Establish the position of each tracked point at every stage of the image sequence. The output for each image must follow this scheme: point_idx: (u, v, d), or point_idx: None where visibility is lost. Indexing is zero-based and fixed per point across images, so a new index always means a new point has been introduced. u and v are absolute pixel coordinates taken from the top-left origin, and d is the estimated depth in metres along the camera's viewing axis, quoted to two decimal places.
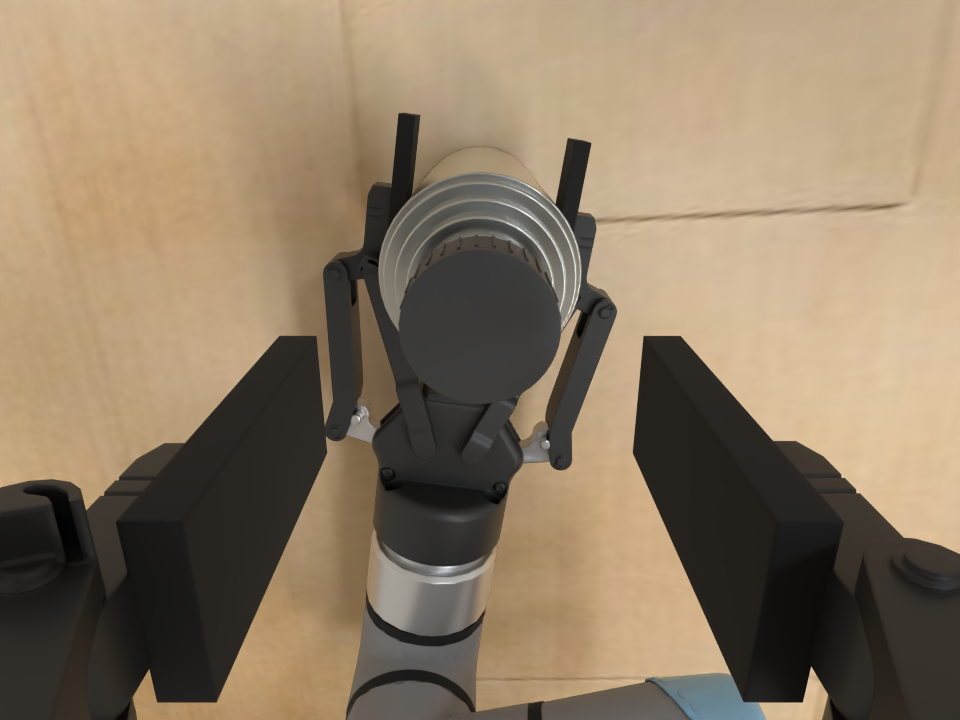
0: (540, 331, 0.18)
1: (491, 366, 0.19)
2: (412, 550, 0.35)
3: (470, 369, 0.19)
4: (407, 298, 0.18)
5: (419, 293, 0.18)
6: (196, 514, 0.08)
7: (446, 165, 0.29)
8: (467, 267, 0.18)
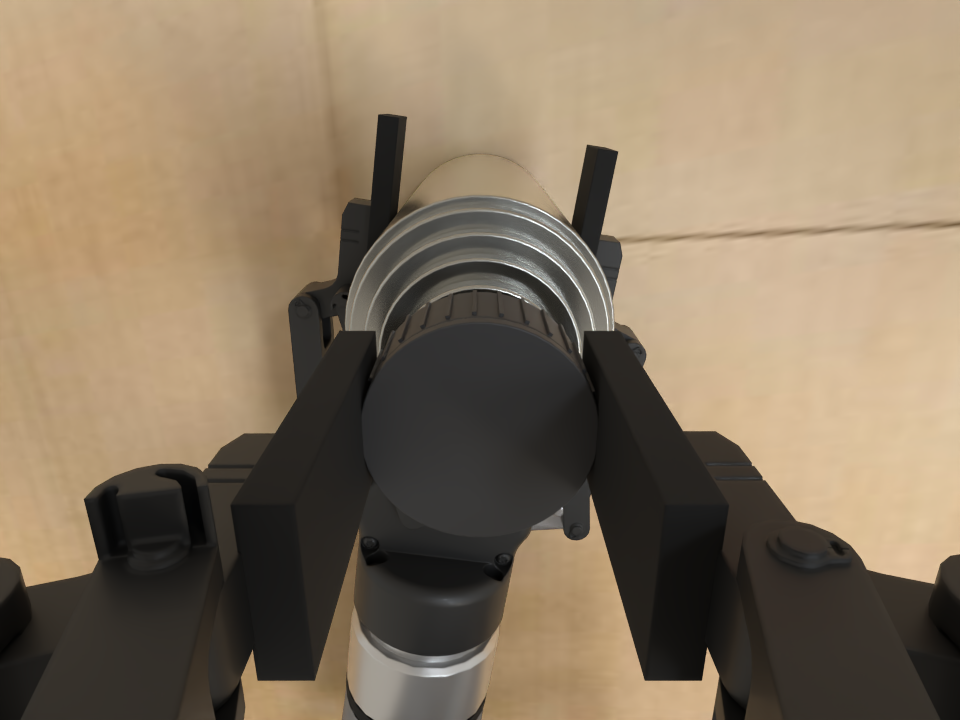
0: (569, 438, 0.12)
1: (496, 486, 0.13)
2: (398, 638, 0.30)
3: (465, 490, 0.13)
4: (371, 391, 0.12)
5: (389, 384, 0.12)
6: (302, 498, 0.08)
7: (437, 179, 0.23)
8: (460, 347, 0.12)
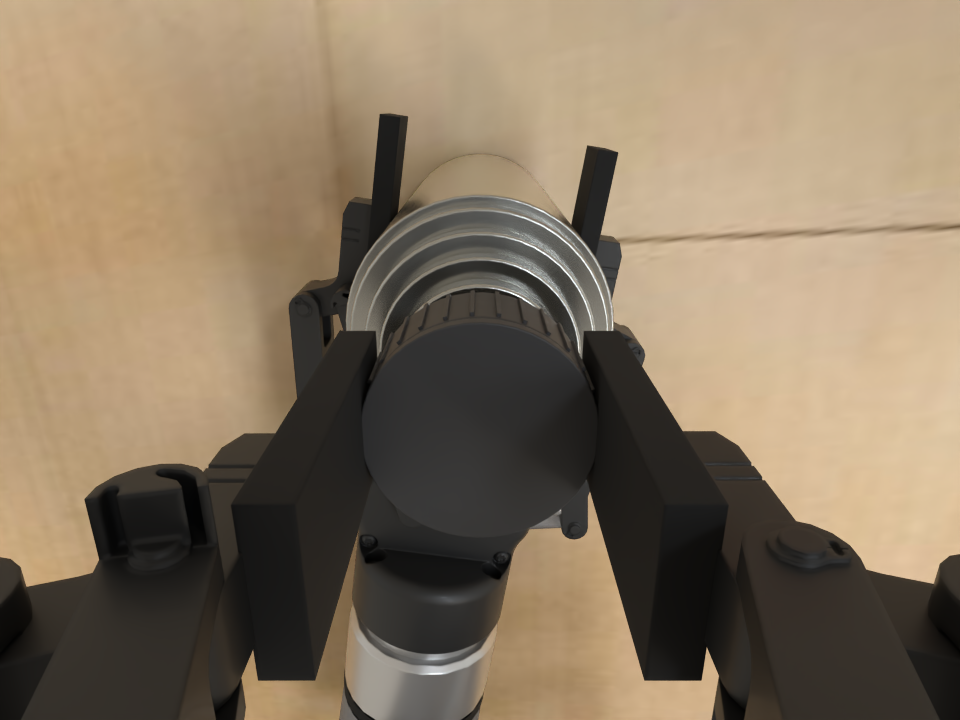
0: (464, 354, 0.12)
1: (533, 412, 0.12)
2: (397, 636, 0.30)
3: (543, 440, 0.12)
4: (452, 531, 0.13)
5: (442, 519, 0.13)
6: (303, 498, 0.08)
7: (438, 179, 0.23)
8: (391, 467, 0.13)
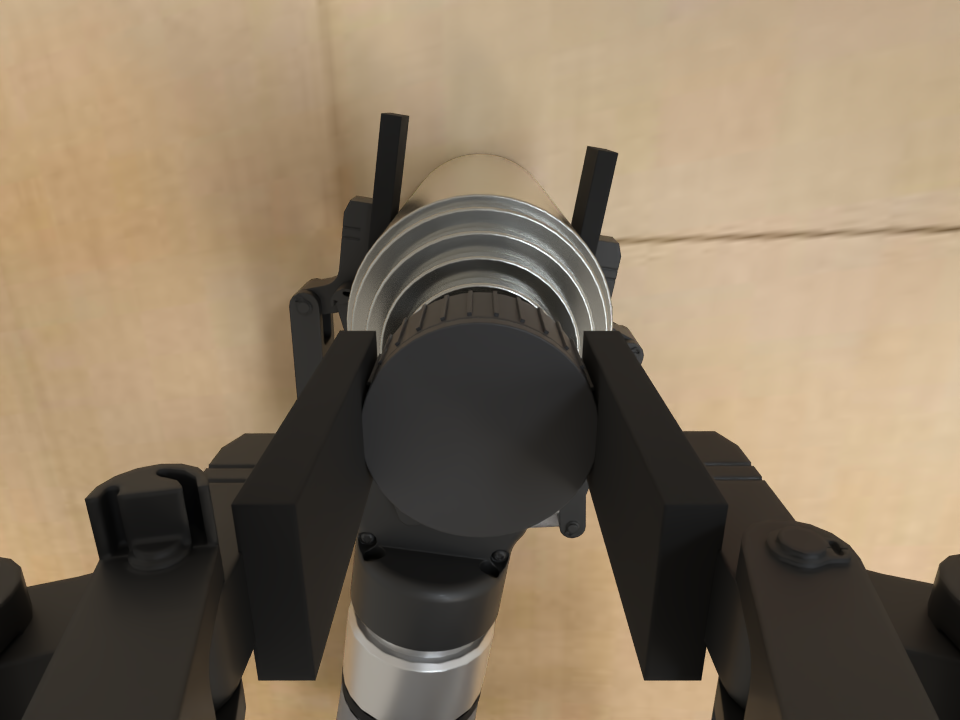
0: (397, 464, 0.12)
1: (442, 393, 0.12)
2: (395, 633, 0.30)
3: (471, 379, 0.12)
4: (594, 443, 0.12)
5: (580, 456, 0.12)
6: (303, 498, 0.08)
7: (439, 178, 0.24)
8: (528, 507, 0.13)
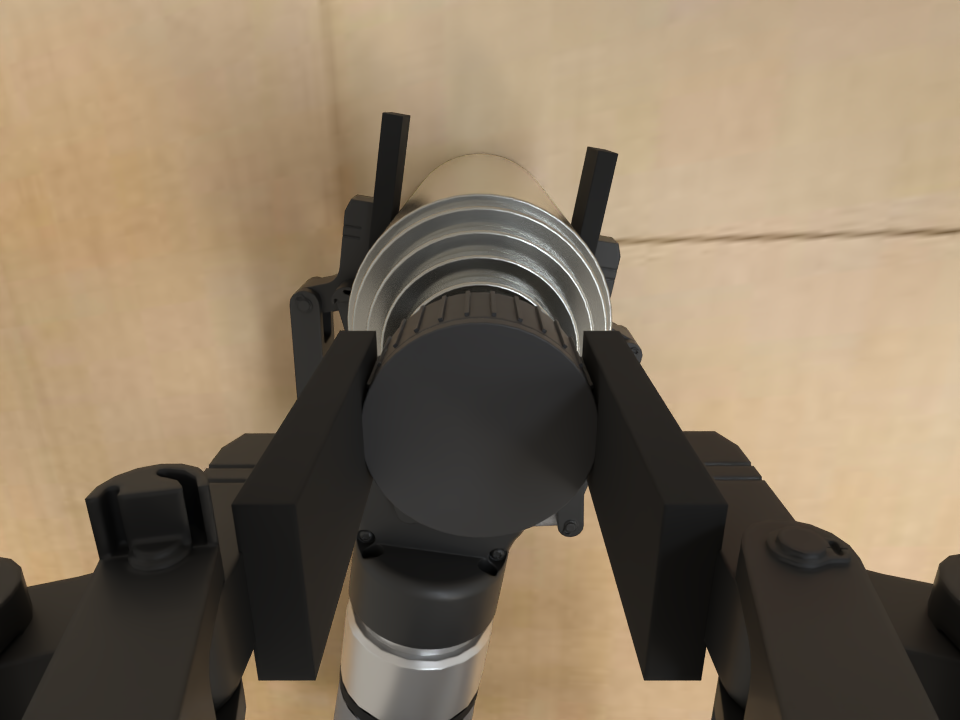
0: (523, 503, 0.13)
1: (441, 476, 0.13)
2: (393, 631, 0.30)
3: (420, 455, 0.12)
4: (465, 327, 0.12)
5: (482, 338, 0.12)
6: (303, 498, 0.08)
7: (440, 178, 0.24)
8: (553, 377, 0.12)
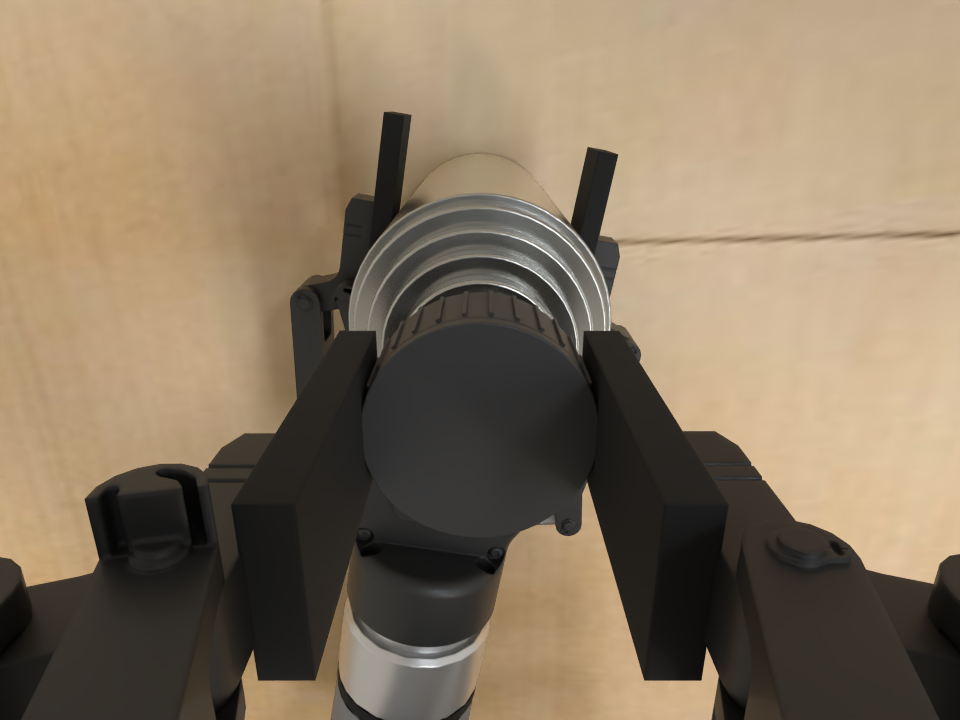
0: (549, 383, 0.12)
1: (530, 464, 0.12)
2: (391, 628, 0.30)
3: (509, 485, 0.13)
4: (371, 466, 0.13)
5: (377, 452, 0.12)
6: (303, 498, 0.08)
7: (441, 177, 0.24)
8: (400, 383, 0.12)
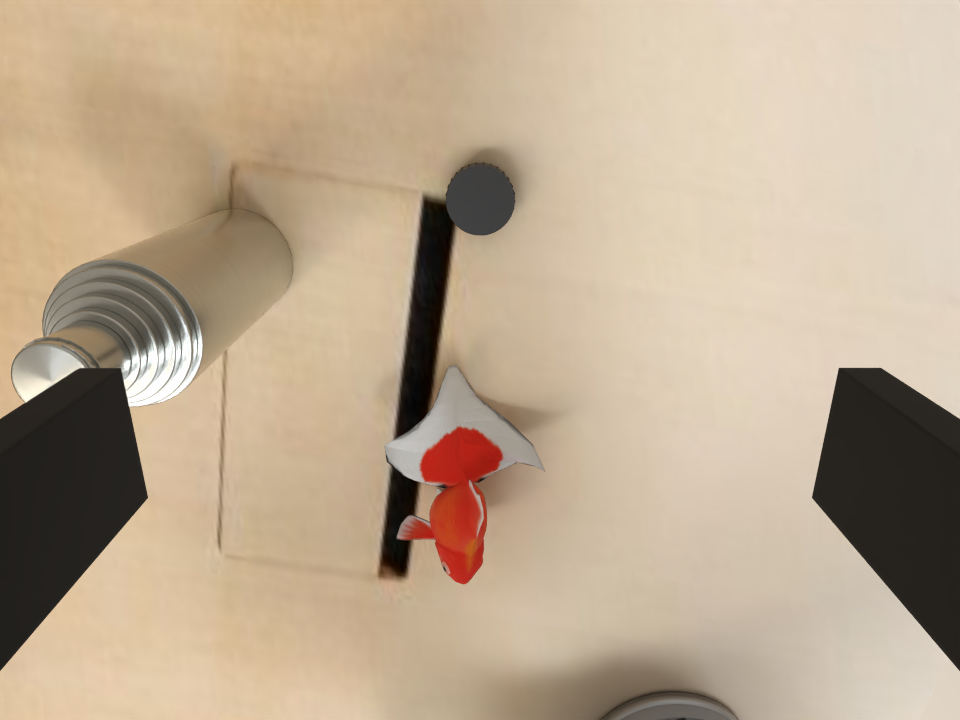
0: (499, 183, 0.43)
1: (494, 210, 0.43)
2: None
3: (489, 217, 0.43)
4: (448, 210, 0.43)
5: (451, 205, 0.43)
6: None
7: (246, 284, 0.38)
8: (458, 183, 0.43)
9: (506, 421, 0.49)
